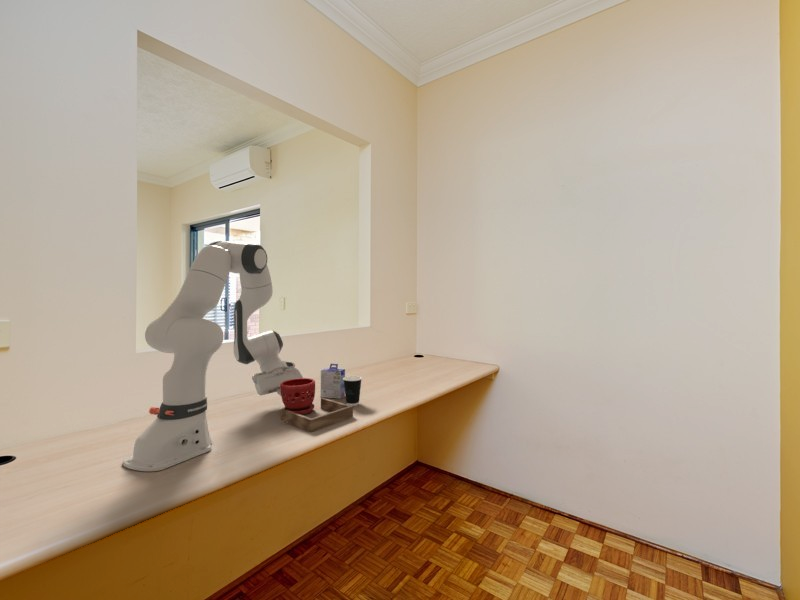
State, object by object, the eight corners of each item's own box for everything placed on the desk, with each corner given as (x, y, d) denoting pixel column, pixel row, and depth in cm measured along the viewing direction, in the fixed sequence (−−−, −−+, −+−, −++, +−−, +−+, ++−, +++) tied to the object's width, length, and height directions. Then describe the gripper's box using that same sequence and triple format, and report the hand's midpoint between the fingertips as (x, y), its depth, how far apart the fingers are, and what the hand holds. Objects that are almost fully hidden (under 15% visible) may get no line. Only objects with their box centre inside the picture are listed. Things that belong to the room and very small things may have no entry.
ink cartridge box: (345, 395, 166) (345, 363, 166) (341, 399, 161) (341, 366, 161) (325, 394, 168) (325, 362, 168) (320, 397, 163) (320, 365, 163)
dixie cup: (359, 400, 159) (359, 375, 159) (364, 405, 151) (364, 379, 151) (341, 402, 156) (341, 376, 156) (345, 408, 149) (345, 380, 148)
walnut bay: (281, 420, 134) (281, 409, 134) (323, 407, 149) (323, 397, 149) (311, 432, 123) (311, 420, 123) (352, 416, 138) (353, 406, 138)
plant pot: (308, 404, 153) (308, 375, 152) (320, 413, 142) (320, 382, 141) (276, 410, 146) (276, 379, 145) (286, 419, 135) (285, 387, 134)
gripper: (253, 369, 144) (267, 399, 138) (297, 362, 160) (311, 388, 154) (247, 379, 146) (261, 408, 141) (291, 371, 163) (304, 397, 157)
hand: (287, 398), depth 147 cm, fingers closed
